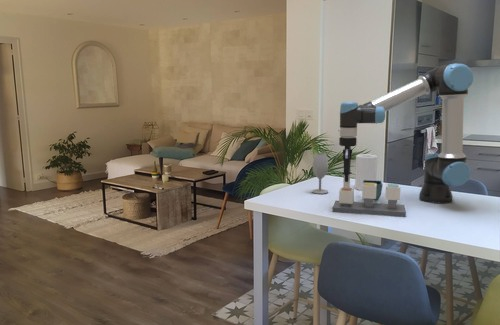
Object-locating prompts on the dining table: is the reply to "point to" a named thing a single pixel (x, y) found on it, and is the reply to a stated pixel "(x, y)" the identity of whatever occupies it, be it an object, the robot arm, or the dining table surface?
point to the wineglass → (320, 170)
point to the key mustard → (369, 190)
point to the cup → (365, 169)
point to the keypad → (371, 208)
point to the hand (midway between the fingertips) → (346, 188)
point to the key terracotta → (346, 195)
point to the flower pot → (378, 189)
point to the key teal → (392, 192)
